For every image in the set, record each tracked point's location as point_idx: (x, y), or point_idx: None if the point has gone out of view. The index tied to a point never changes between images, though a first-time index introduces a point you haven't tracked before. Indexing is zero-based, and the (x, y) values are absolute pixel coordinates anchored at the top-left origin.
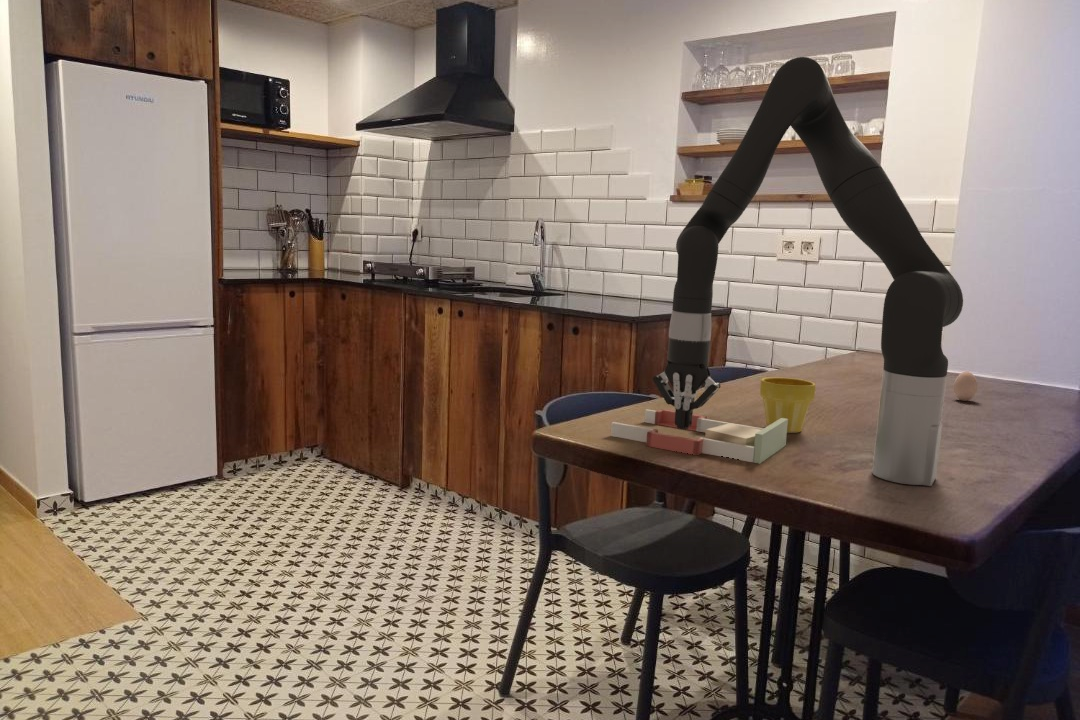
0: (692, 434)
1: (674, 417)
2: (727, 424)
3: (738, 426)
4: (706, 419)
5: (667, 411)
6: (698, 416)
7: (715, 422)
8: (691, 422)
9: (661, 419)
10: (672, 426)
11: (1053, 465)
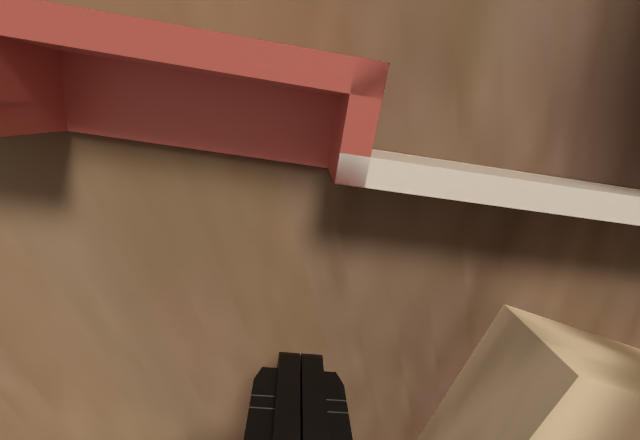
0: (324, 247)
1: (127, 59)
2: (560, 410)
3: (619, 418)
4: (401, 176)
5: (28, 38)
6: (324, 88)
7: (464, 201)
8: (343, 395)
9: (46, 75)
10: (171, 143)
11: None
